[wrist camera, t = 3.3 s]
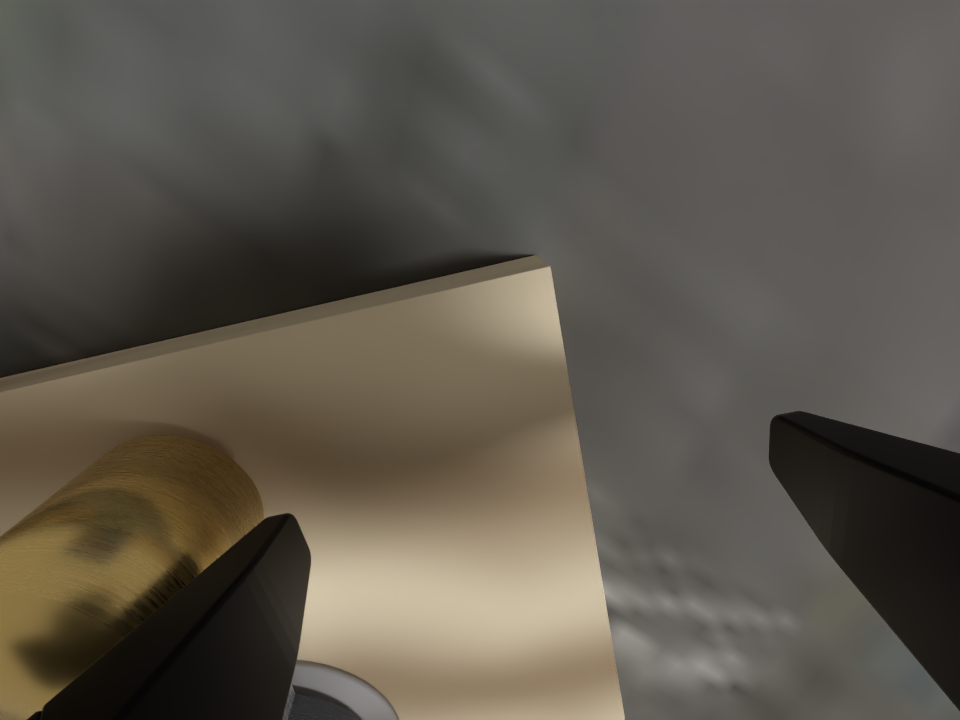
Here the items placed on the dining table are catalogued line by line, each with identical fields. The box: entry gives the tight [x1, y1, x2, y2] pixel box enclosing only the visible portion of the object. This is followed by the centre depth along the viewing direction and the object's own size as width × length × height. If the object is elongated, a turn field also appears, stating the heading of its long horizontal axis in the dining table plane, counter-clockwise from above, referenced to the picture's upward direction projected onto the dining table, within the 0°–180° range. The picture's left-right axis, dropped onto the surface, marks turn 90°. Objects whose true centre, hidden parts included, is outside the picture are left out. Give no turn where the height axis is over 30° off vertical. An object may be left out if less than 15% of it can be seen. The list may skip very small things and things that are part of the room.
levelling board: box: [0, 255, 625, 720], centre depth 13 cm, size 20×18×2 cm
